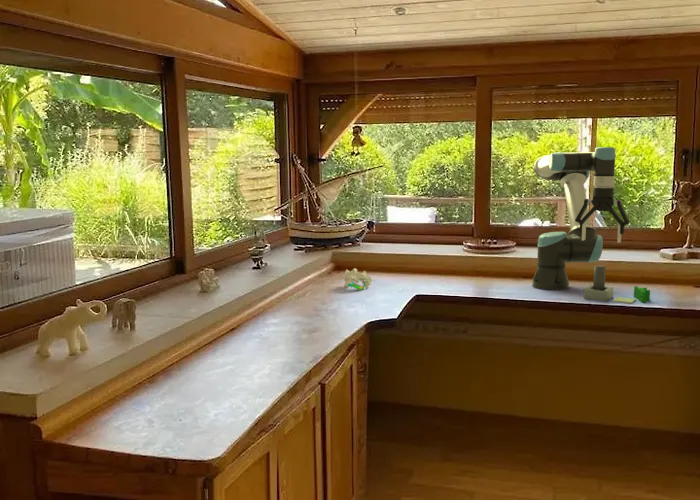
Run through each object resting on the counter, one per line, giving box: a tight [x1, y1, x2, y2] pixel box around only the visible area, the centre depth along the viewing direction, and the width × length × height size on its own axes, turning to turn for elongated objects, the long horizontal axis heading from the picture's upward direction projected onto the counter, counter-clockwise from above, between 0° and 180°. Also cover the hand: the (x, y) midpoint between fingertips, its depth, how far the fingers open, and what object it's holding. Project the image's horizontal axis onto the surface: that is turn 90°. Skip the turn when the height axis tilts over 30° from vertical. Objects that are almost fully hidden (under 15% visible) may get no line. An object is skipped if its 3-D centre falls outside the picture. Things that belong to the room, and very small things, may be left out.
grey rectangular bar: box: [592, 264, 606, 290], centre depth 280 cm, size 4×4×13 cm
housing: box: [583, 284, 614, 302], centre depth 281 cm, size 9×9×4 cm
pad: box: [612, 296, 637, 305], centre depth 275 cm, size 7×7×1 cm
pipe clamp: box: [633, 285, 651, 304], centre depth 277 cm, size 11×4×5 cm, turn 174°
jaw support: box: [343, 267, 373, 291], centre depth 302 cm, size 12×9×10 cm
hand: (601, 241), depth 278 cm, fingers open, 13 cm apart
